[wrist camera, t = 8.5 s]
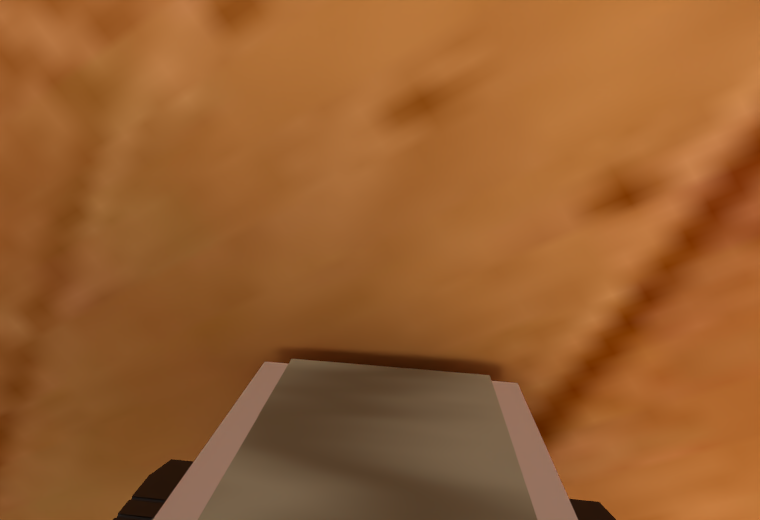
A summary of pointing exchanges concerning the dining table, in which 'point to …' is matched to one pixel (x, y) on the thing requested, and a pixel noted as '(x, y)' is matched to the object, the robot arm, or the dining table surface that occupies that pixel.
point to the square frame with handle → (375, 449)
